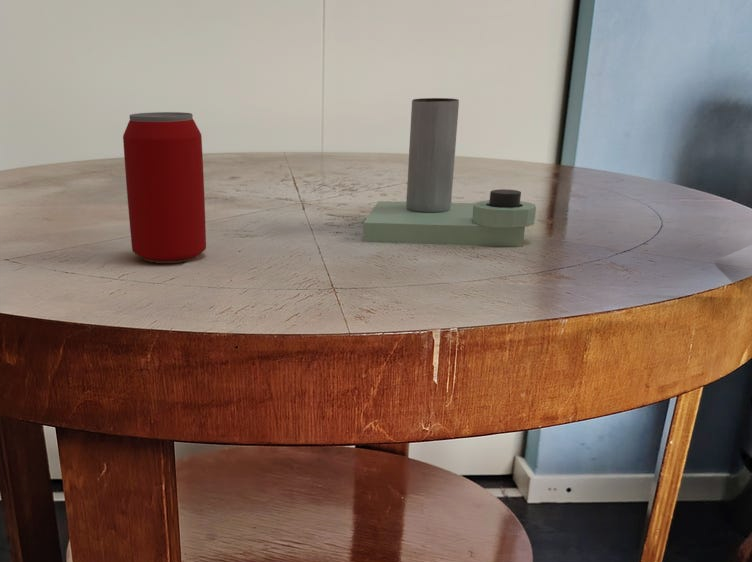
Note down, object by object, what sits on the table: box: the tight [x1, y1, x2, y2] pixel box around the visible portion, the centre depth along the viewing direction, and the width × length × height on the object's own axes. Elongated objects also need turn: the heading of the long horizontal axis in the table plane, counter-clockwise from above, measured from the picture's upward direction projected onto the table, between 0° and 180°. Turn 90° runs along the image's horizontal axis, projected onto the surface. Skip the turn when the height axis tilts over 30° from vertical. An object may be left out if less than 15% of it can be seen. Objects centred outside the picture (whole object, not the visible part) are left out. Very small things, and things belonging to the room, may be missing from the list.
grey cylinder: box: [405, 97, 460, 212], centre depth 90 cm, size 4×4×10 cm
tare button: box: [489, 189, 522, 208], centre depth 84 cm, size 3×3×2 cm
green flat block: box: [362, 199, 537, 248], centre depth 90 cm, size 16×14×4 cm
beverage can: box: [122, 111, 207, 264], centre depth 79 cm, size 7×7×12 cm
